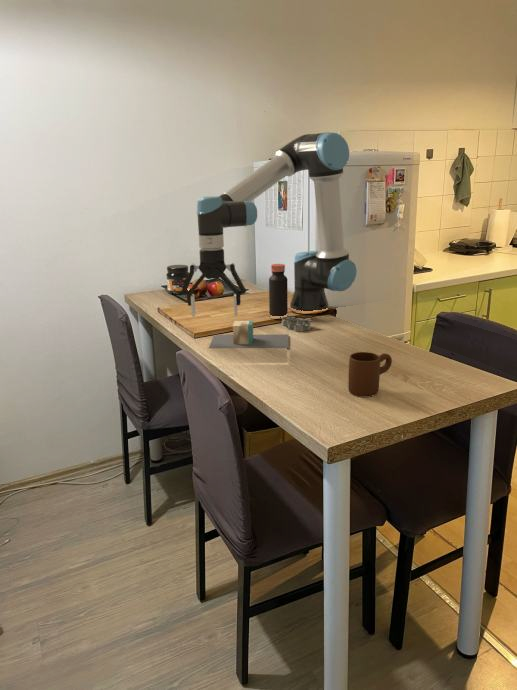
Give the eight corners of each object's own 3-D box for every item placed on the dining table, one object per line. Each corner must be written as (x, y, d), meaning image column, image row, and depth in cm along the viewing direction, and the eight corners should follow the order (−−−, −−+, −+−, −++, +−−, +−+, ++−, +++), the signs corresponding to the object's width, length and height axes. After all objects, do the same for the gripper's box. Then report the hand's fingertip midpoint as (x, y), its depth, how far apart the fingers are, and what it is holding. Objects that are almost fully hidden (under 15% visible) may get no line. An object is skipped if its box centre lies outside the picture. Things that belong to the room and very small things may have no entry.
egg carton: (313, 330, 189) (313, 318, 188) (296, 333, 185) (296, 322, 184) (295, 323, 198) (295, 312, 197) (278, 326, 194) (278, 315, 193)
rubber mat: (288, 336, 182) (288, 334, 182) (288, 349, 169) (288, 347, 169) (214, 336, 183) (214, 334, 183) (208, 349, 170) (208, 348, 170)
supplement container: (163, 294, 246) (161, 268, 242) (174, 289, 255) (172, 264, 252) (184, 295, 243) (182, 268, 239) (194, 290, 252) (193, 264, 248)
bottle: (267, 319, 202) (266, 266, 196) (272, 315, 208) (271, 263, 202) (285, 320, 200) (284, 266, 194) (289, 316, 206) (289, 263, 200)
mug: (380, 381, 143) (382, 347, 140) (399, 391, 137) (401, 355, 134) (342, 389, 138) (343, 354, 135) (359, 400, 132) (361, 363, 129)
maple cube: (235, 338, 179) (253, 338, 179) (233, 344, 173) (252, 343, 173) (234, 320, 177) (252, 320, 177) (232, 326, 171) (251, 325, 171)
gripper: (169, 250, 164) (173, 318, 171) (251, 249, 163) (253, 318, 170) (173, 247, 171) (178, 312, 178) (252, 246, 170) (254, 311, 177)
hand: (214, 315), depth 174 cm, fingers open, 13 cm apart
